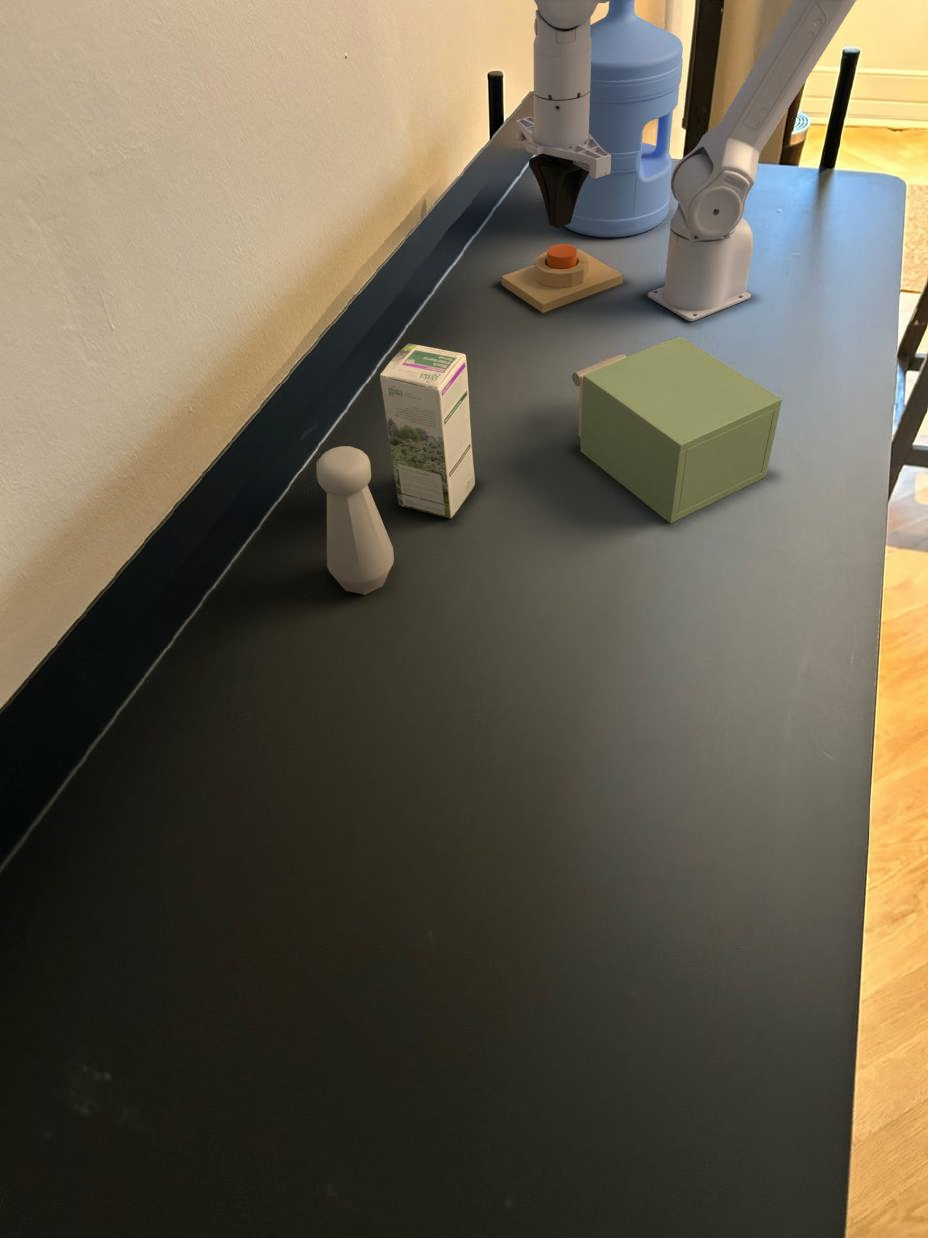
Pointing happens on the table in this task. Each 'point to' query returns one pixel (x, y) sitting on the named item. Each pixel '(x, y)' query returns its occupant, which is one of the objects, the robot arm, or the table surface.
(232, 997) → the table surface
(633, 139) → the water jug
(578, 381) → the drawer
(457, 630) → the table surface
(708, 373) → the sage green panel box
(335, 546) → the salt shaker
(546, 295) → the block
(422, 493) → the syrup box
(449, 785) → the table surface
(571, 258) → the button
